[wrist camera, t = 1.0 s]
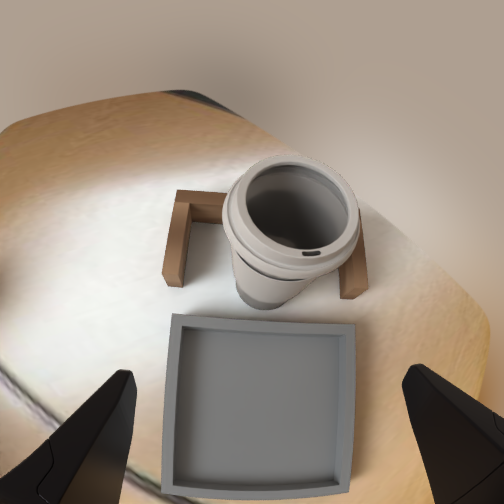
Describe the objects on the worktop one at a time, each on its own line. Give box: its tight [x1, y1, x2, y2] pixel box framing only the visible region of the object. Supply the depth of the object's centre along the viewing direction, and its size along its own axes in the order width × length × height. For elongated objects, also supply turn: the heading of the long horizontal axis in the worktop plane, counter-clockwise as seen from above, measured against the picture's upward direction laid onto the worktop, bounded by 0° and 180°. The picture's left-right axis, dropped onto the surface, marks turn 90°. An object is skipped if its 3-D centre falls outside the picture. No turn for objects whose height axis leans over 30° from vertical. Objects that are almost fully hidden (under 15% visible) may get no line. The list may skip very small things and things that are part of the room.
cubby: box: [162, 190, 368, 299], centre depth 25 cm, size 7×15×3 cm, turn 87°
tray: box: [161, 313, 356, 500], centre depth 20 cm, size 14×14×2 cm
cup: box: [222, 155, 360, 310], centre depth 20 cm, size 7×7×12 cm
